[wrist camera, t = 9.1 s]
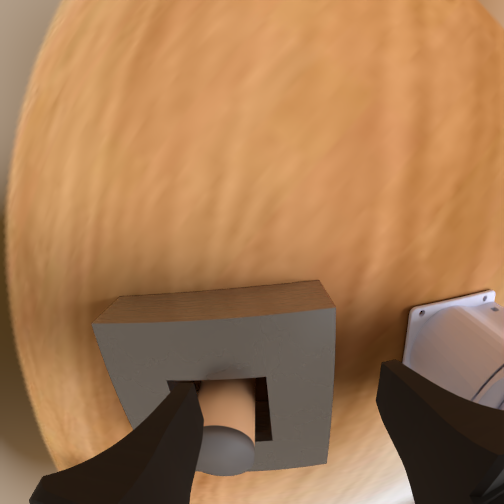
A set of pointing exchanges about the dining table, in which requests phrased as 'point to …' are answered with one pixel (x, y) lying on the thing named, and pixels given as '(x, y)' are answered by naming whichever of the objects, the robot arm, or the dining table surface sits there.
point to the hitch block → (232, 358)
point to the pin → (227, 426)
